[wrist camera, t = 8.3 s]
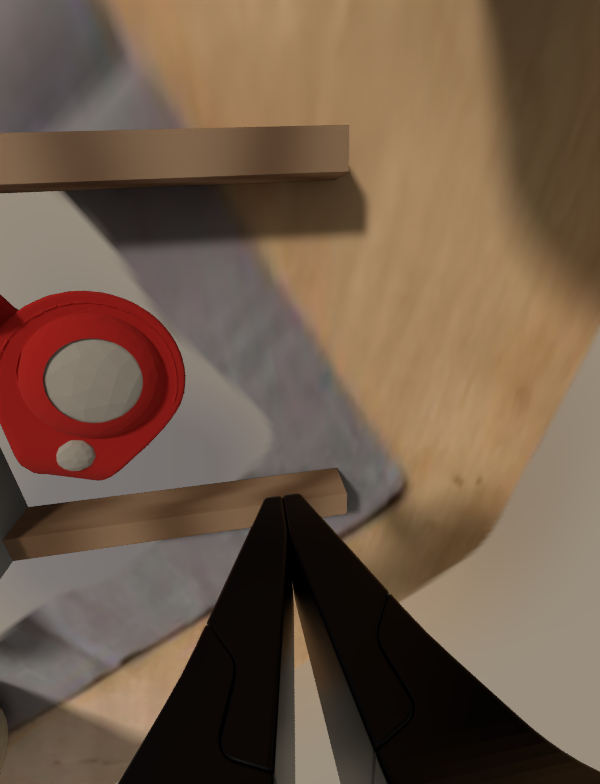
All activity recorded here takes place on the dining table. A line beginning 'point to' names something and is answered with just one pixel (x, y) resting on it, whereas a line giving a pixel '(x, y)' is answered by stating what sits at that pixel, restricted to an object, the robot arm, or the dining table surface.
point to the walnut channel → (161, 169)
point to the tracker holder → (85, 382)
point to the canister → (3, 737)
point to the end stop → (8, 509)
